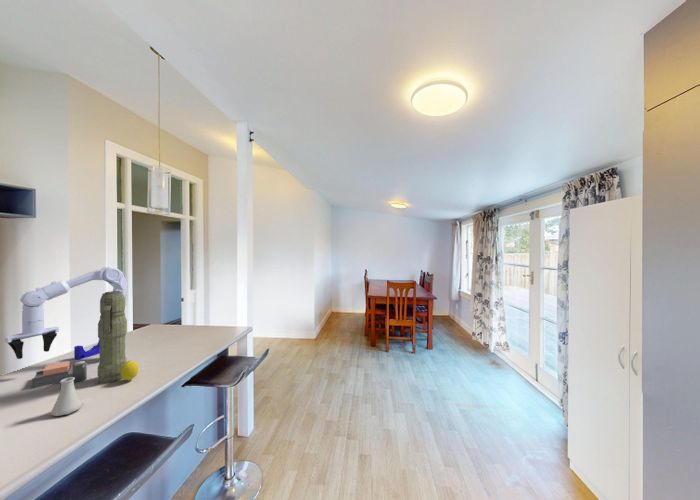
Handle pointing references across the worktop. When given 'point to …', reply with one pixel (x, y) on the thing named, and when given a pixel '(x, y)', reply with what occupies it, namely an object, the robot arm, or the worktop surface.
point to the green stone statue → (111, 336)
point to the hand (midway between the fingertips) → (33, 354)
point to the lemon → (129, 370)
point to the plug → (79, 371)
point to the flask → (67, 399)
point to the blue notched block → (81, 353)
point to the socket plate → (49, 378)
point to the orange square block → (56, 368)
